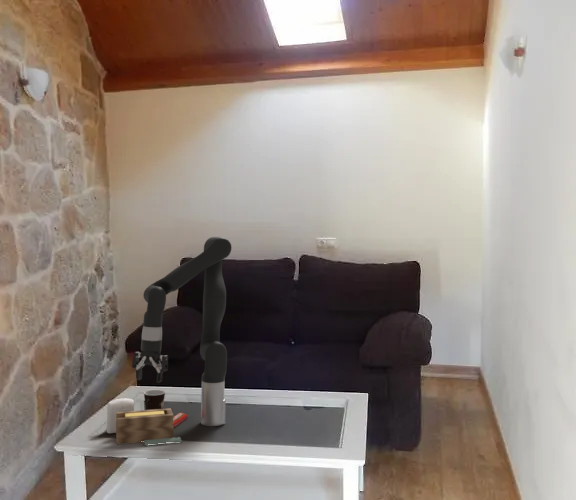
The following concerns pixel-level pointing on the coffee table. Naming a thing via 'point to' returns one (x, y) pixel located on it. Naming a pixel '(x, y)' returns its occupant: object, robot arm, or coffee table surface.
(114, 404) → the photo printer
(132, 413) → the slat
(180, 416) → the candy bar
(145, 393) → the coffee mug
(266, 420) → the coffee table surface
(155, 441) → the grey-green flat bar
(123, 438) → the pocket block
